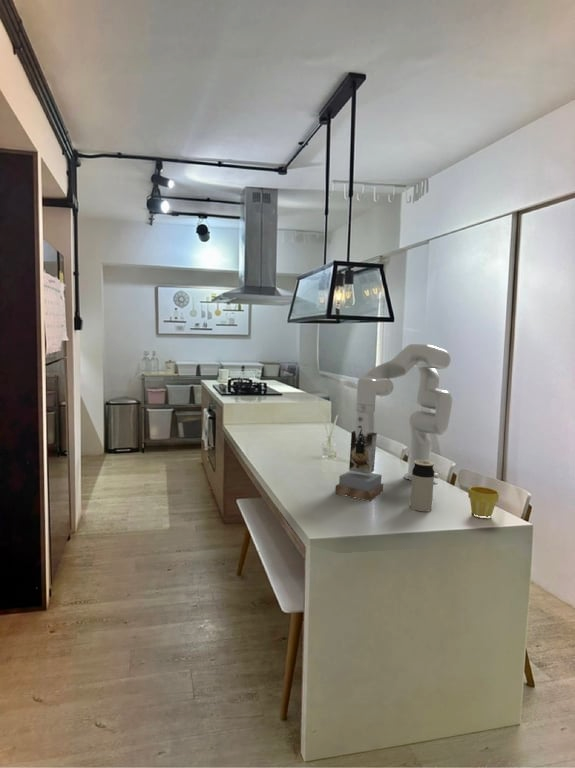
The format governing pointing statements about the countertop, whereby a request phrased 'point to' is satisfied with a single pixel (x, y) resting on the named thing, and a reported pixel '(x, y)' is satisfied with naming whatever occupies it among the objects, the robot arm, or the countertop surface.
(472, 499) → the plant pot
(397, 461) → the countertop surface
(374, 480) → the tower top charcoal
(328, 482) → the countertop surface
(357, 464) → the coffee box
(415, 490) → the travel mug
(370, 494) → the tower base walnut
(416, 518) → the countertop surface
